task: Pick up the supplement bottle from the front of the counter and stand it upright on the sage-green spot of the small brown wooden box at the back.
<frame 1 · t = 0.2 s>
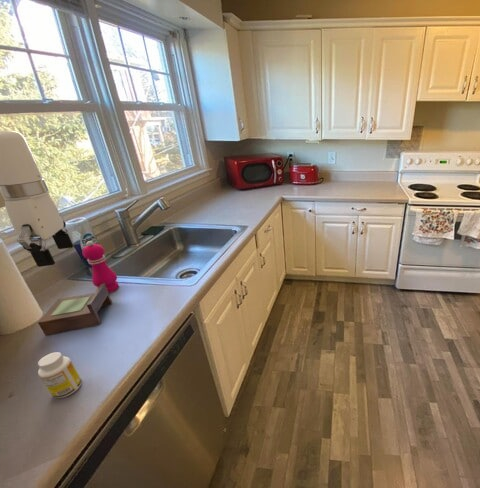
hand: (57, 256, 71), 28 cm above the countertop, tool pointing down, fingers open, 9 cm apart
supplement bottle: (68, 389, 68), on the countertop
brown wooden box: (81, 317, 91), on the countertop
pepper mill: (109, 289, 106), on the countertop
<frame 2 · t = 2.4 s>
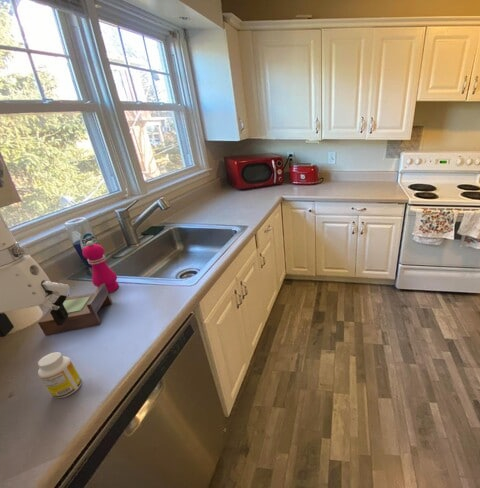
hand: (36, 326, 60), 19 cm above the countertop, tool pointing down, fingers open, 9 cm apart
nothing on the countertop moved.
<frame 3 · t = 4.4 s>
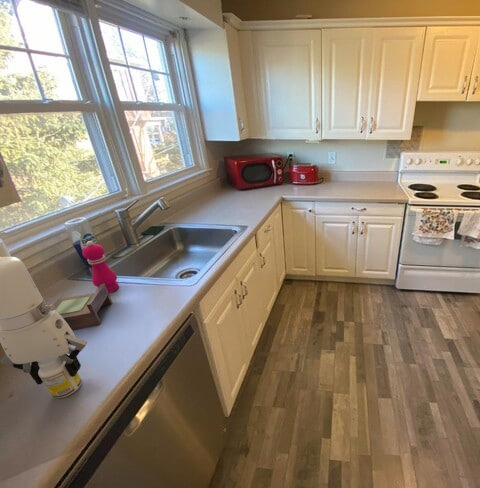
hand: (59, 374, 65), 5 cm above the countertop, tool pointing down, fingers closed on supplement bottle, 5 cm apart
supplement bottle: (68, 389, 68), on the countertop, touching gripper
everything else where it was.
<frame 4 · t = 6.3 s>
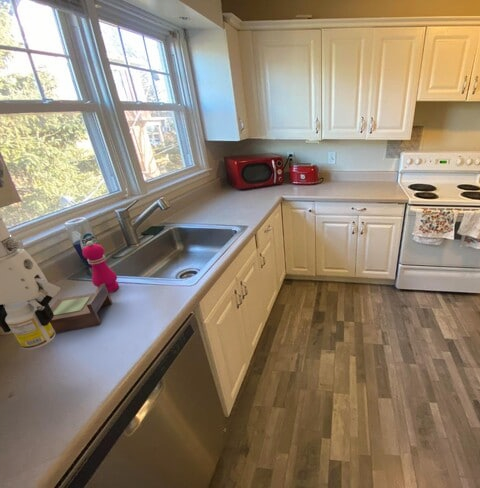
hand: (30, 324, 60), 19 cm above the countertop, tool pointing down, fingers closed on supplement bottle, 5 cm apart
supplement bottle: (40, 341, 62), point 14 cm above the countertop, touching gripper
everything else where it was.
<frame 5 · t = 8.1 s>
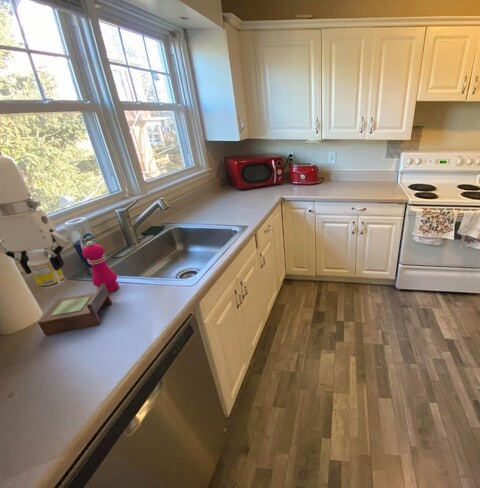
hand: (45, 269, 78), 21 cm above the countertop, tool pointing down, fingers closed on supplement bottle, 5 cm apart
supplement bottle: (53, 284, 80), point 16 cm above the countertop, touching gripper
everything else where it was.
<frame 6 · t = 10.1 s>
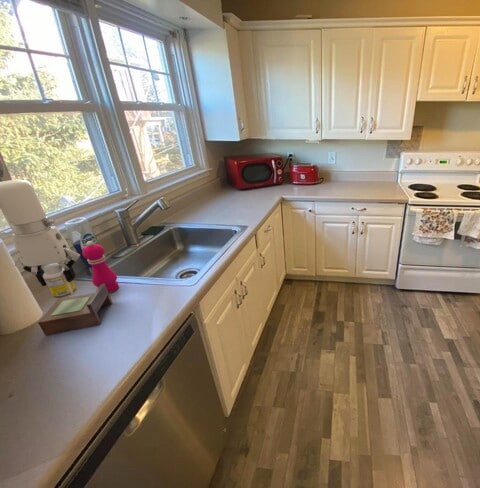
hand: (59, 281, 84), 14 cm above the countertop, tool pointing down, fingers closed on supplement bottle, 5 cm apart
supplement bottle: (66, 294, 87), point 9 cm above the countertop, touching gripper
everything else where it was.
when the fingers open (10 cm above the countertop, at t = 11.7 s): supplement bottle stays where it is, resting on brown wooden box.
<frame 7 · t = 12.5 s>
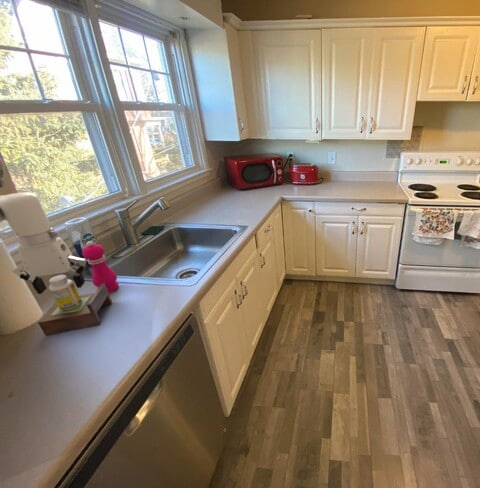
hand: (62, 288, 86), 12 cm above the countertop, tool pointing down, fingers open, 9 cm apart
supplement bottle: (71, 306, 88), point 5 cm above the countertop, touching brown wooden box
everything else where it was.
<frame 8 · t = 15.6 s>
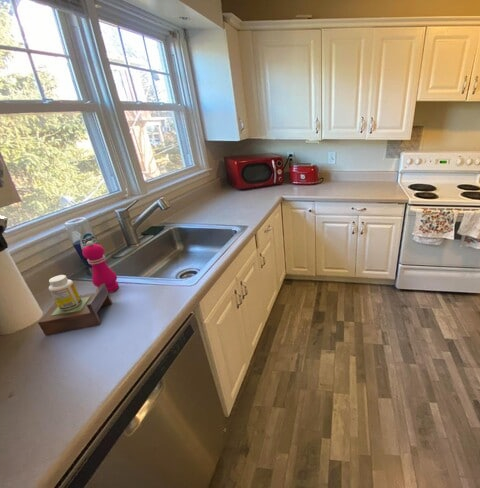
nothing on the countertop moved.
at the end: supplement bottle inside the target area on the brown wooden box (0.1 cm from its centre), point 5.0 cm above the brown wooden box's base; supplement bottle tilted 0° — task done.
